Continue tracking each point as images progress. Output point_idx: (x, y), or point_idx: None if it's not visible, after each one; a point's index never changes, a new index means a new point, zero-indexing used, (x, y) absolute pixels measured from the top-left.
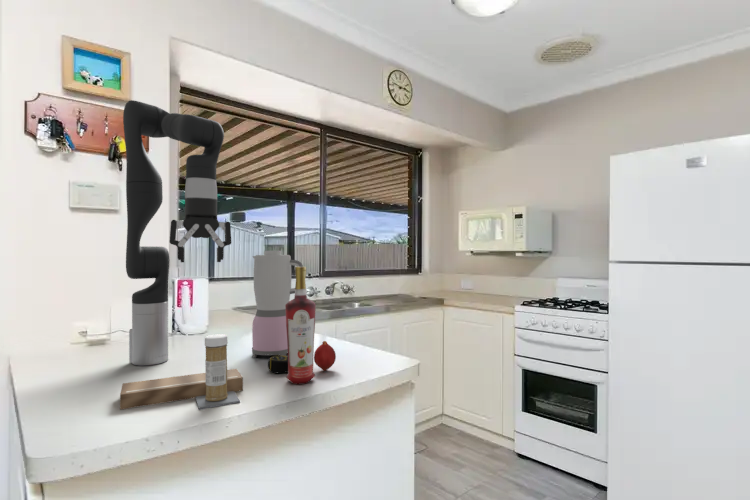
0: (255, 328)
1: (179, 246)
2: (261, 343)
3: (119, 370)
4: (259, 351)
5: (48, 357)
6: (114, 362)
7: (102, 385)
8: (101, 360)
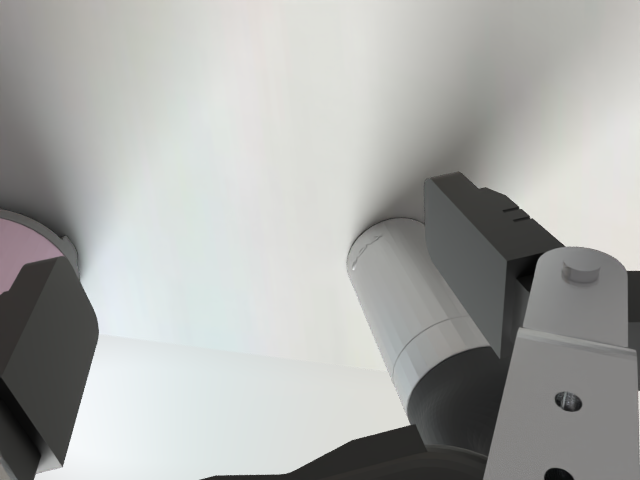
0: None
1: (577, 248)
2: (16, 241)
3: None
4: (35, 229)
5: None
6: None
7: (499, 43)
8: None
